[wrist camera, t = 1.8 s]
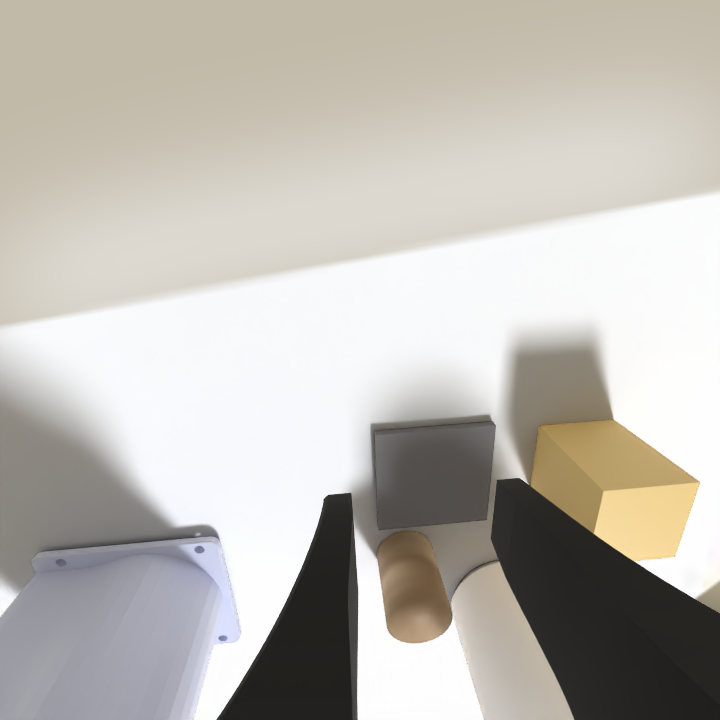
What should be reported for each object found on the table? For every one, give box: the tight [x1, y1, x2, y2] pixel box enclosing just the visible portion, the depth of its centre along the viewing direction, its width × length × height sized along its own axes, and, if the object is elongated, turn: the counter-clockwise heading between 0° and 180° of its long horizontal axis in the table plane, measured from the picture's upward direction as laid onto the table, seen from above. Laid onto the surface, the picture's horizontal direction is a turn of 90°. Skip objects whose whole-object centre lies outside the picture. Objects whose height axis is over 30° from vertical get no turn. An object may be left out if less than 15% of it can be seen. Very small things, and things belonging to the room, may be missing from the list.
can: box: [451, 560, 574, 720], centre depth 18 cm, size 6×6×12 cm
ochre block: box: [530, 420, 700, 561], centre depth 18 cm, size 4×4×5 cm
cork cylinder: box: [377, 531, 452, 643], centre depth 20 cm, size 3×3×4 cm
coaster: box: [374, 421, 496, 530], centre depth 20 cm, size 6×6×1 cm
